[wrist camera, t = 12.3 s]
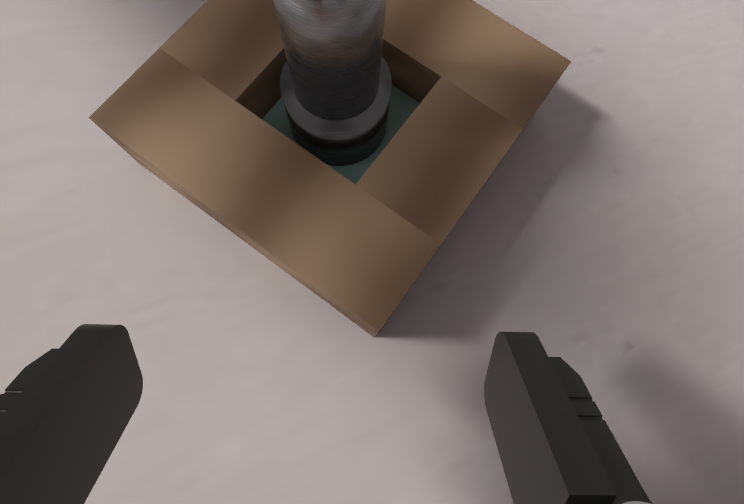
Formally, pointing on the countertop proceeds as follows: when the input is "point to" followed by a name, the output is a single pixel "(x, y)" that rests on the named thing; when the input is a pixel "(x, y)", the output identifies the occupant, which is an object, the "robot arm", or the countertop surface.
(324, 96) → the grey cylindrical peg
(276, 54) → the block
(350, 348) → the countertop surface
